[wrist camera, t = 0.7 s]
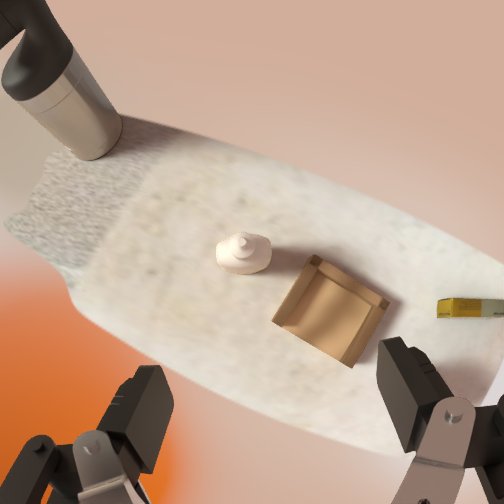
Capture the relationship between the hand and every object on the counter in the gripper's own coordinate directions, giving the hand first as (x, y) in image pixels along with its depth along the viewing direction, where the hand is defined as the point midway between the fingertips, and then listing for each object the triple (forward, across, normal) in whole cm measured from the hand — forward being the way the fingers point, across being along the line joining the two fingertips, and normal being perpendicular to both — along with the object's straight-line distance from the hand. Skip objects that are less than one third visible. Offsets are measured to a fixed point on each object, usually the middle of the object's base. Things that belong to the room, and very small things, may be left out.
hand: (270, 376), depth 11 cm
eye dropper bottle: (+28, +3, +5) cm, 29 cm away
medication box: (+26, -28, +16) cm, 41 cm away
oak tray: (+25, -6, +12) cm, 29 cm away
